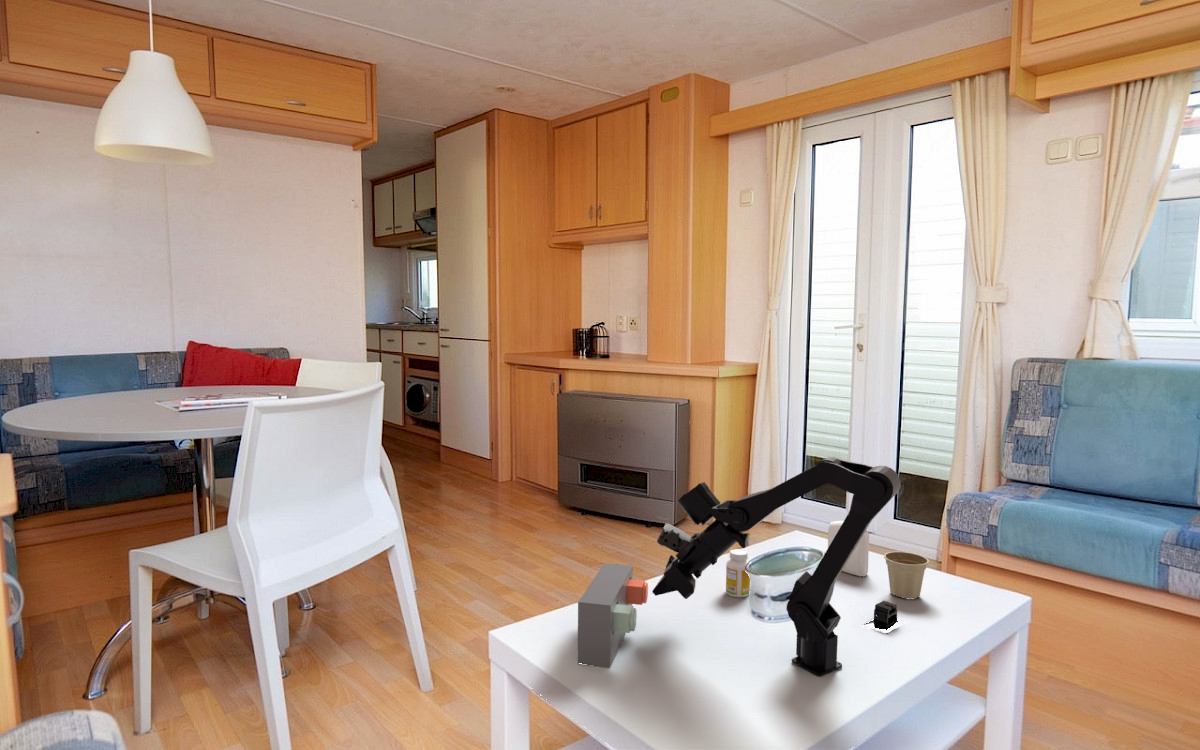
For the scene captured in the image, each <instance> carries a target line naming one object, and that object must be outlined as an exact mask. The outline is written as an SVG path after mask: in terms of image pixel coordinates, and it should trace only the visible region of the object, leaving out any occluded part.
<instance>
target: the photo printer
mask: <svg viewBox="0 0 1200 750" xmlns="http://www.w3.org/2000/svg"><path fill="white" fill-rule="evenodd" d="M843 522H844V520H834V521H831V522H830V524H828V525H829V526H828V530H827V548H828V547H829V546H830V544H831V542H832V541H833V539H834V537H835V535H836V534H837V532H838V530H839V529H840V527H841V525H842V524H843ZM869 545H870V533H869V531H868V529H866V531H865V533H864V534H863V536H862V538H861V539H860V541H859V543H858V544H857V546H856V548H855V549H854V551H853V553H852V554H851V556H850V558H849V559H848V561H847V563H846V564H845V566H844V568H843V569H842V571H841V572H844V573H847V574H850V575H853V576H857V577H861V576H863V577H866V576H868V573H869V553H870V552H869V548H870V547H869Z"/></svg>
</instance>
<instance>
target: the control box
mask: <svg viewBox="0 0 1200 750" xmlns="http://www.w3.org/2000/svg"><path fill="white" fill-rule="evenodd" d="M633 568H634V567H633V565H630V564H618V563H610V562H609V563H606V562H604V563H603V565H602V566H601V567H600V569H599V570H598V572H597V573H596V574H595V576H594V577H593V579H592V581H591V582H590V584H589V585H588V587H587V588H586V590H585V591H584V593H583V594H582V595H581V597H580V598H579V600H578V603H577V606H578V607H577V664H578V663H582V664H587V665H586V666H589V665H593V666H592V667H597V666H599V667H598V668H606V669H611V668H612V665H613V662H614V661H615V658H616V656H617V654H618V652H619V650H618V649H620V648H621V645H622V643H623V641H622V640H624V639H625V636H626V634H625V633H623V632H615V631H613V609H614V607H615V605H616V604H620V605H630V606H633V604H628V603H626V602H627V583H628V581H629V579H632V580H634V578H633V575H634V574H633V572H634V570H633ZM621 642H622V643H621ZM617 651H618V652H617ZM613 660H614V661H613Z"/></svg>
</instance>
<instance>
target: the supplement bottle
mask: <svg viewBox="0 0 1200 750" xmlns="http://www.w3.org/2000/svg"><path fill="white" fill-rule="evenodd" d="M729 558H730V559H728V560H727V561H726V565H725V566H726V571H725V572H726V574H725V593H726V594H727V595H728V596H730V597H733V598H746V597H749V596H750V594H749V591H751V577H750V578H749V576H748V574H747V573H746V572H745V565H746V564H747V563H748V562H749V561H748V558H749V557H748V551H746V550H743V549H737V548H736V549H731V550H729Z"/></svg>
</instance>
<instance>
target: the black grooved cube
mask: <svg viewBox="0 0 1200 750" xmlns="http://www.w3.org/2000/svg"><path fill="white" fill-rule="evenodd" d="M897 606H898V604H897V603H893V602H889V601H886V600H882V601H879V602H878V603H876V604H875V605H874V609H873V619H874V620H873V621H870V620H869V621H870V622H869V623H866V622H865V623H866V624H865V623H863V624H864V625H865V626H869V627H875V628H879V629H886V630H887V629H888V628H890V627H891V626H893V625H894V624H895V623H896V622H898V621H897V618H898V608H897Z"/></svg>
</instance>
